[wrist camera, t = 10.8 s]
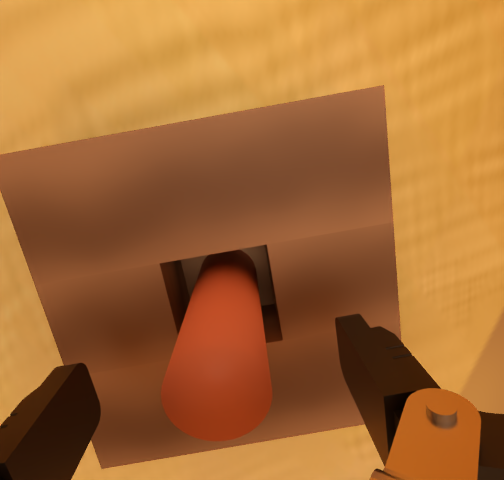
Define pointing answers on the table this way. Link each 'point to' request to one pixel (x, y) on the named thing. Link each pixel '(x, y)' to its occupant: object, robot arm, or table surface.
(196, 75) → the table surface
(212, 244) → the bore block
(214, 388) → the dowel
